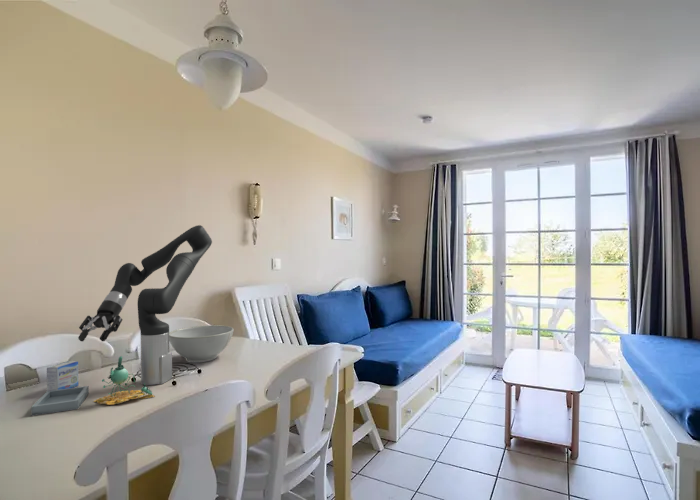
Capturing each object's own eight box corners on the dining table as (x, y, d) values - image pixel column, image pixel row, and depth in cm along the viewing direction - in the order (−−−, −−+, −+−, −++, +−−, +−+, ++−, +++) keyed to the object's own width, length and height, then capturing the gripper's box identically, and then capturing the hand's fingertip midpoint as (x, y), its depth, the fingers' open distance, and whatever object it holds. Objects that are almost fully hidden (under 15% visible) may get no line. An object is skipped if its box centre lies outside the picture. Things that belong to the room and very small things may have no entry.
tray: (88, 393, 125) (88, 385, 125) (78, 408, 112) (78, 400, 112) (47, 399, 120) (47, 391, 120) (31, 415, 108) (31, 406, 108)
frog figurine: (144, 406, 114) (137, 357, 114) (84, 414, 114) (77, 365, 114) (159, 394, 123) (154, 349, 123) (104, 401, 123) (98, 356, 123)
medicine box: (57, 394, 125) (57, 367, 125) (46, 393, 126) (46, 367, 126) (78, 385, 133) (78, 361, 133) (68, 385, 134) (68, 360, 134)
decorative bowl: (246, 355, 170) (246, 328, 170) (193, 371, 148) (193, 340, 148) (208, 348, 185) (208, 323, 185) (154, 361, 162) (154, 333, 162)
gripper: (133, 310, 155) (113, 345, 144) (101, 310, 157) (79, 345, 145) (124, 299, 150) (103, 334, 138) (91, 299, 151) (67, 334, 140)
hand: (90, 340), depth 142 cm, fingers open, 8 cm apart
